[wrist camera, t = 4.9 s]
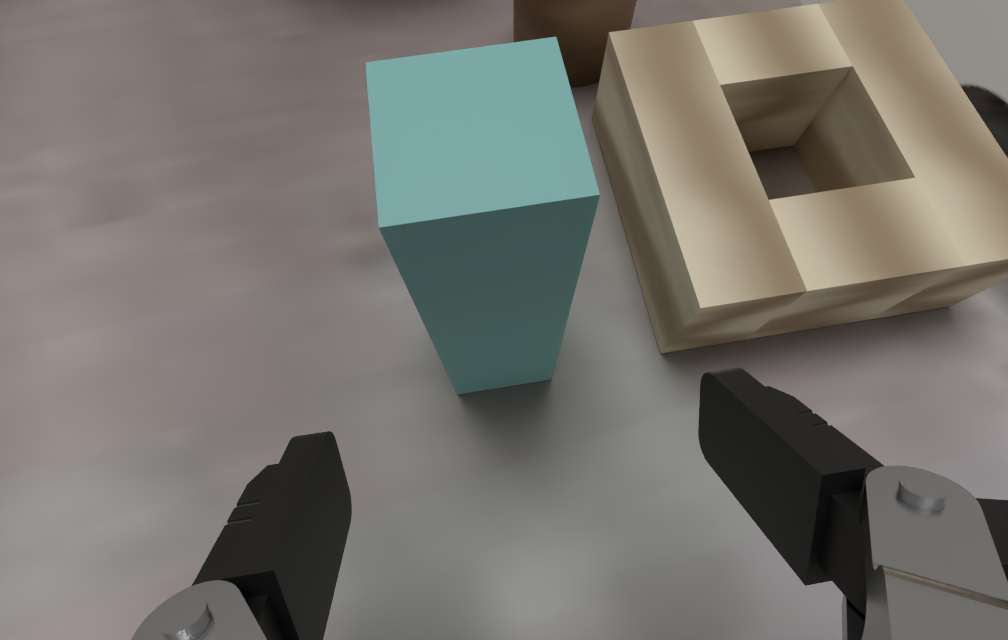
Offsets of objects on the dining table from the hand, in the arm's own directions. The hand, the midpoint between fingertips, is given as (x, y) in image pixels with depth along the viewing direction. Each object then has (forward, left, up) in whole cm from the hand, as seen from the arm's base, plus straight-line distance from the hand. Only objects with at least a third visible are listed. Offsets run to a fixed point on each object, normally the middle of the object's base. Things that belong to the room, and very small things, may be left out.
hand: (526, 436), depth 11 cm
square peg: (-2, +5, -10) cm, 11 cm away
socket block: (+8, +15, -10) cm, 19 cm away
